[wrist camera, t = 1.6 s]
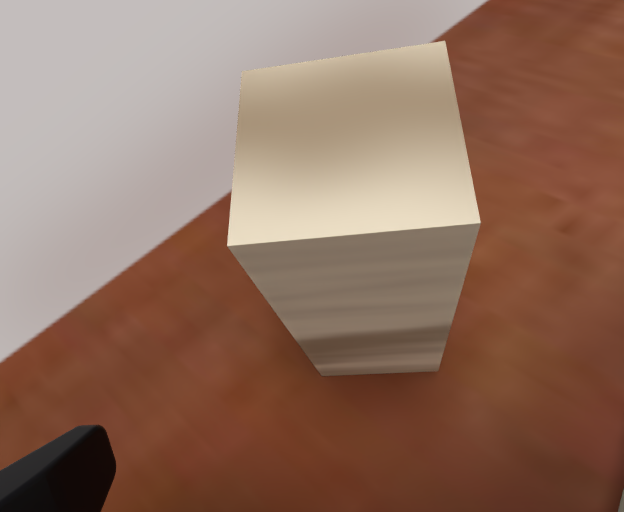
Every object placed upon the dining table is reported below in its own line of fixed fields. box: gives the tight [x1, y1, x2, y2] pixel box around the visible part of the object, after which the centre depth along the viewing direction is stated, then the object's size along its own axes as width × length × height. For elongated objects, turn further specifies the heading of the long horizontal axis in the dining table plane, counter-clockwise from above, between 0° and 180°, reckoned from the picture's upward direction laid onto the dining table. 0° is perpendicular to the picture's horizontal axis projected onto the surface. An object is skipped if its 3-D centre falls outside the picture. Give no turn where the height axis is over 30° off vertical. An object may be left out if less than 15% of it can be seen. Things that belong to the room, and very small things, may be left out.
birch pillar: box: [227, 41, 480, 376], centre depth 16 cm, size 5×5×12 cm
